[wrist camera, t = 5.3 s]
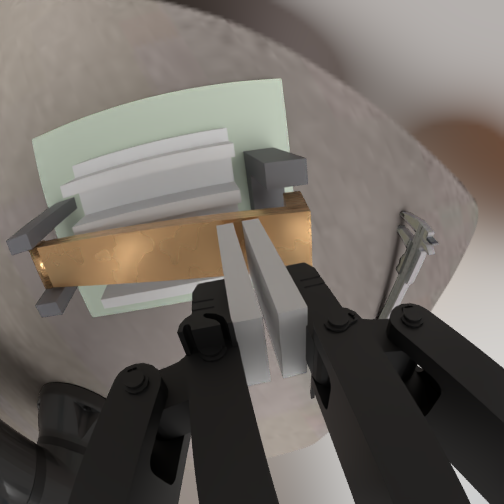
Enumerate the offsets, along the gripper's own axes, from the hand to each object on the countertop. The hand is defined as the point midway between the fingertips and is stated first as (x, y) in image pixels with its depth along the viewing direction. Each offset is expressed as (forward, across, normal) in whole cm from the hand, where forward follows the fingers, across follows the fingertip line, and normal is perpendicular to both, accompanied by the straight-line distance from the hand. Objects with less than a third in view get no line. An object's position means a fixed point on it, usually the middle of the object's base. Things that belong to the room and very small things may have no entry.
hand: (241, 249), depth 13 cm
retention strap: (+5, -5, 0) cm, 7 cm away
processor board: (+11, -5, 0) cm, 12 cm away
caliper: (+12, +18, -15) cm, 26 cm away
